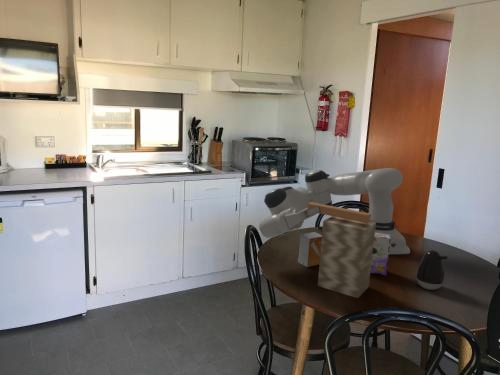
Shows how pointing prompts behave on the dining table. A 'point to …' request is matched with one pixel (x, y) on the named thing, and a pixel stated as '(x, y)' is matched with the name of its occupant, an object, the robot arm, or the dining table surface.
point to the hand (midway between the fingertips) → (321, 207)
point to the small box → (310, 249)
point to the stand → (346, 255)
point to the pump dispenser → (431, 270)
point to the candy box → (380, 253)
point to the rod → (341, 212)
